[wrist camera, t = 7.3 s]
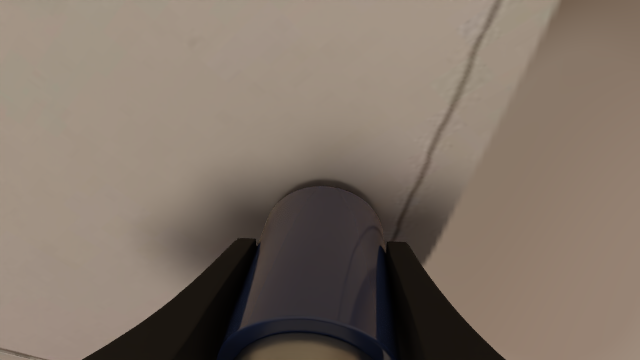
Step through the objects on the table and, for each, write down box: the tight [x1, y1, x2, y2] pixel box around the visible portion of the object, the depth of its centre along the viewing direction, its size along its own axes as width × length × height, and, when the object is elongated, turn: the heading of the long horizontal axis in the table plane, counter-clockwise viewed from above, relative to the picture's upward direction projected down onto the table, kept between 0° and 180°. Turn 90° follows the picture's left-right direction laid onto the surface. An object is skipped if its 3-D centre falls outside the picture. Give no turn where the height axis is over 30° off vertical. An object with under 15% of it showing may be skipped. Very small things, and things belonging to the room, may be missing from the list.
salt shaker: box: [215, 186, 401, 360], centre depth 10 cm, size 4×4×6 cm
